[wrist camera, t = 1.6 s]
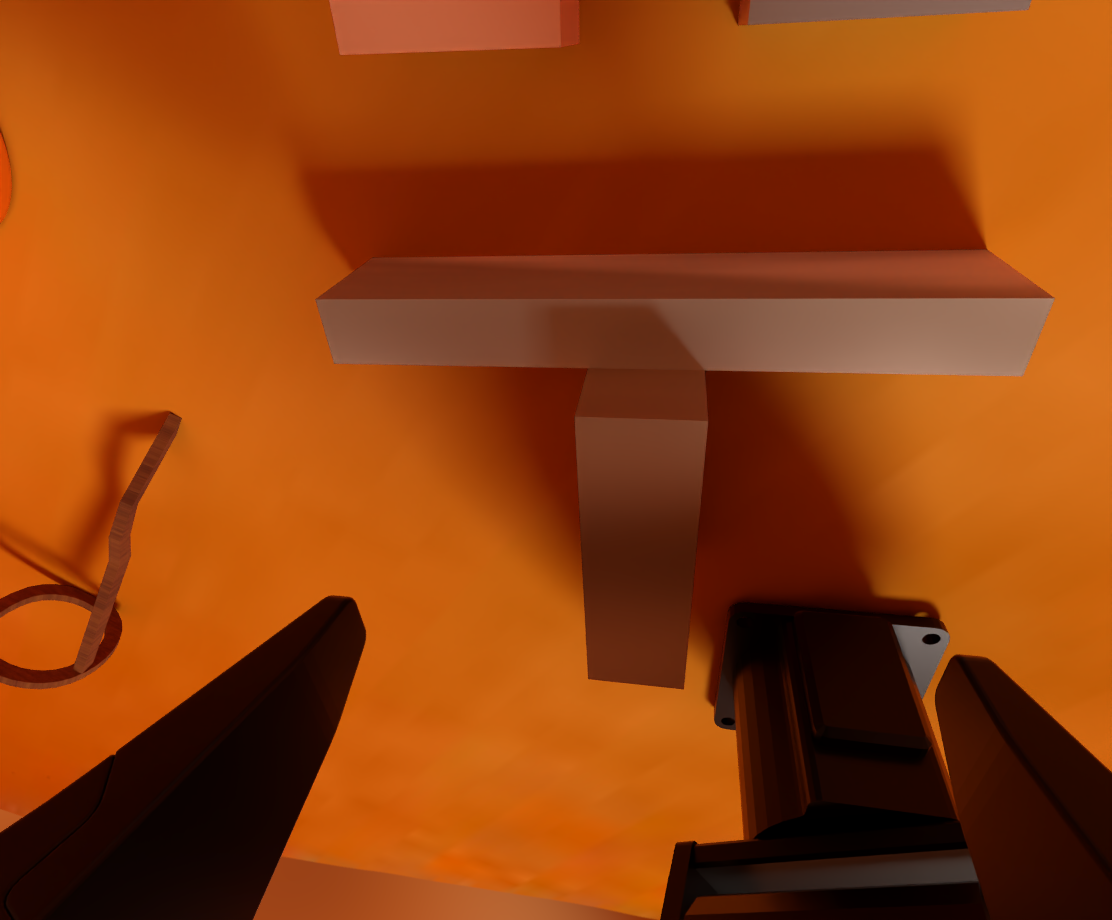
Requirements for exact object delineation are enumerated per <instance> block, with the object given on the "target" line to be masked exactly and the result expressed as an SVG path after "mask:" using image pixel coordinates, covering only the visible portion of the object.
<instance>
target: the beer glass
mask: <svg viewBox="0 0 1112 920" xmlns="http://www.w3.org/2000/svg"><path fill="white" fill-rule="evenodd" d="M11 192H12V179H11V169H10V163H9V158H8V154H7V150H6V147H5V143H4V140H3V137H2V135H1V132H0V223H1V222H2V221H3V219H4V217H5V216H6V214H7V211H8V208H9V205H10V200H11Z"/></svg>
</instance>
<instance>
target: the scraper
mask: <svg viewBox="0 0 1112 920" xmlns="http://www.w3.org/2000/svg"><path fill="white" fill-rule="evenodd" d="M1054 299H1055V298H1054V297H1052V296H1051V295H1050V294H1048V293H1047V292H1045V291H1044V290H1043V289H1041V288H1040V287H1038V286H1037V285H1036V284H1034V283H1033V282H1031V281H1030V280H1029V279H1027V278H1026V277H1025V276H1023V275H1022V274H1020V273H1019V272H1018V271H1016V270H1015V269H1013V268H1012V267H1011V266H1009V265H1008V264H1006V263H1005V262H1004V261H1002V260H1001V259H1000V258H998V257H997V256H995V255H994V254H993V253H991V252H990V251H988V250H987V249H982V250H907V251H832V252H757V253H682V254H607V255H532V256H457V257H383V258H371V259H370V260H369V261H367V262H366V263H365V264H363V265H362V266H360V267H359V268H358V269H356V270H355V271H354V272H352V273H351V274H349V275H348V276H347V277H345V278H344V279H343V280H341V281H340V282H339V283H337V284H336V285H334V286H333V287H332V288H330V289H329V290H328V291H326V292H325V293H324V294H322V295H321V296H319V297H318V298H317V299H315V300H316V303H317V307H318V310H319V313H320V317H321V320H322V324H323V327H324V330H325V334H326V337H327V341H328V344H329V347H330V351H331V354H332V358H333V361H334V364H382V365H437V366H492V367H547V368H588V370H587V373H586V377H585V381H584V384H583V388H582V391H581V395H580V398H579V402H578V405H577V409H576V413H575V416H574V420H575V438H576V457H577V476H578V495H579V514H580V533H581V551H582V570H583V589H584V608H585V627H586V645H587V664H588V679H592V680H602V681H611V682H620V683H630V684H639V685H648V686H658V687H667V688H676V689H684V681H685V670H686V659H687V648H688V638H689V627H690V616H691V605H692V594H693V583H694V572H695V561H696V550H697V539H698V528H699V517H700V506H701V495H702V484H703V473H704V462H705V451H706V440H707V429H708V410H707V394H706V379H705V370H712V371H767V372H822V373H877V374H932V375H987V376H1023V374H1024V372H1025V370H1026V367H1027V365H1028V362H1029V360H1030V357H1031V355H1032V353H1033V350H1034V348H1035V345H1036V343H1037V340H1038V338H1039V336H1040V333H1041V331H1042V328H1043V326H1044V323H1045V321H1046V318H1047V316H1048V314H1049V311H1050V309H1051V306H1052V304H1053V301H1054Z"/></svg>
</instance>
